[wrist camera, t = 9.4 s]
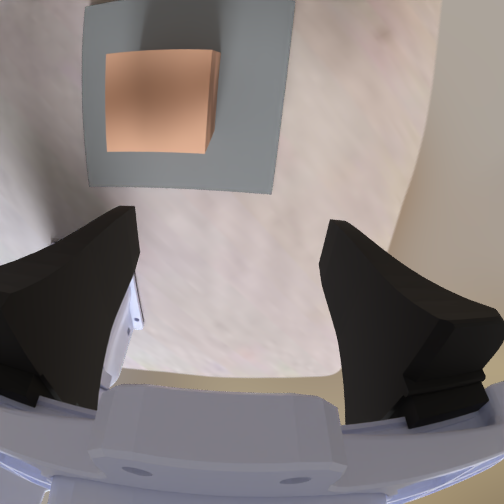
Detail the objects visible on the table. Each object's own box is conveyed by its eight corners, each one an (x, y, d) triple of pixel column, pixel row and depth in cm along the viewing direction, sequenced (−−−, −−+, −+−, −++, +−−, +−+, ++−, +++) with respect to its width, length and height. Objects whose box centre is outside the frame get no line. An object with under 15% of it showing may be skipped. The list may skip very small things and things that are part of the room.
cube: (214, 130, 18) (204, 153, 14) (137, 128, 18) (107, 151, 14) (220, 52, 16) (212, 49, 11) (139, 53, 15) (105, 53, 11)
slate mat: (270, 189, 22) (271, 194, 21) (93, 182, 21) (89, 186, 20) (293, 3, 14) (295, 0, 14) (90, 8, 13) (85, 6, 13)
